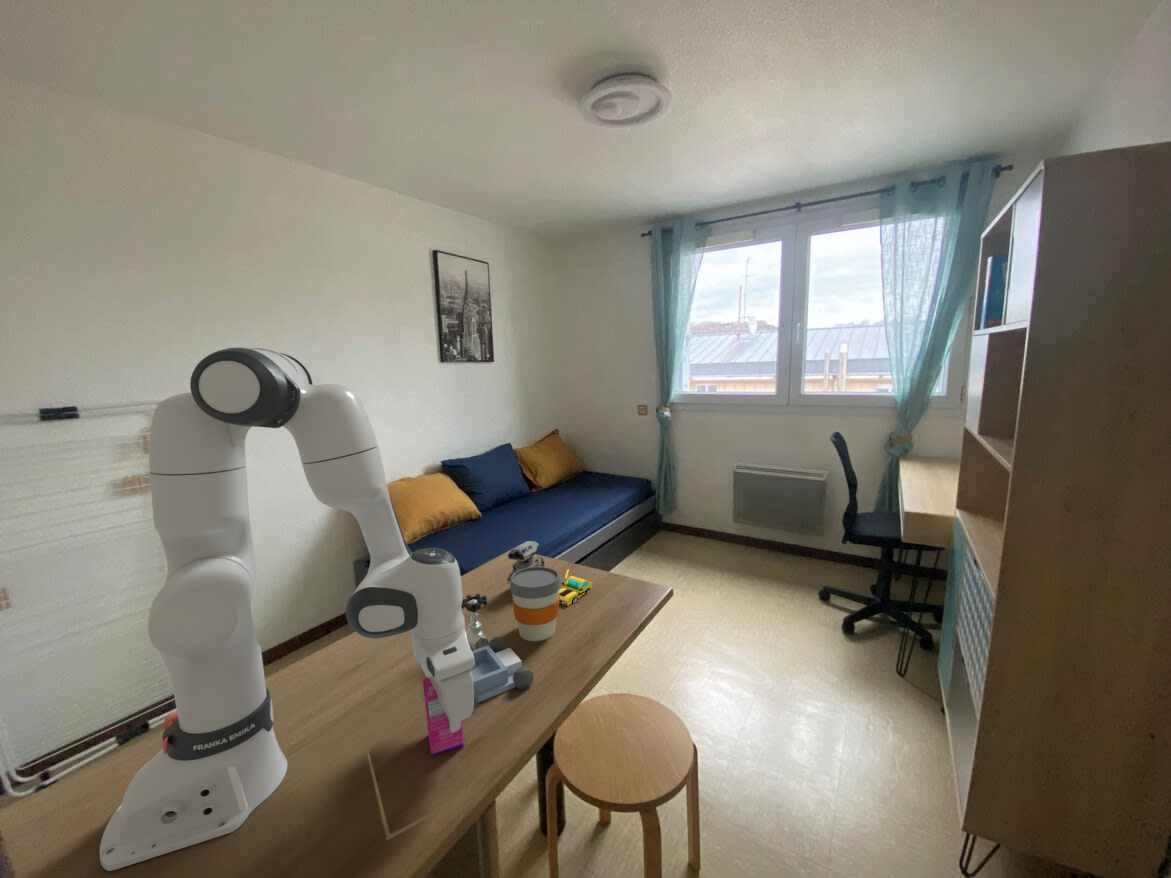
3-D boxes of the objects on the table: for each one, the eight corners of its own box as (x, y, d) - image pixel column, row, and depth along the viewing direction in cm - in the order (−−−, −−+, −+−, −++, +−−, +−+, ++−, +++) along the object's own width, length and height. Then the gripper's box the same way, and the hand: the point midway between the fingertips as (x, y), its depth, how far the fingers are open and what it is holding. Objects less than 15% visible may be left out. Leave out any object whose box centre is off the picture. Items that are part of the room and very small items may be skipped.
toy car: (574, 588, 143) (573, 562, 142) (595, 594, 138) (594, 567, 137) (549, 603, 133) (548, 576, 132) (570, 611, 129) (569, 582, 128)
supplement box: (426, 734, 85) (422, 677, 84) (460, 724, 88) (456, 668, 86) (429, 758, 80) (425, 697, 78) (464, 747, 82) (461, 687, 81)
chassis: (459, 716, 90) (458, 696, 89) (436, 675, 102) (435, 657, 102) (533, 685, 98) (533, 666, 98) (504, 650, 111) (503, 633, 110)
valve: (468, 658, 108) (465, 609, 106) (457, 645, 113) (454, 599, 112) (494, 648, 112) (492, 601, 110) (482, 636, 117) (480, 591, 115)
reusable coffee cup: (529, 615, 127) (527, 563, 124) (570, 625, 121) (569, 570, 119) (502, 639, 115) (499, 582, 113) (545, 651, 110) (543, 591, 108)
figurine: (500, 595, 139) (498, 546, 137) (528, 581, 148) (527, 535, 145) (521, 604, 133) (519, 553, 131) (549, 589, 142) (548, 542, 140)
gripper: (406, 620, 88) (413, 687, 90) (438, 678, 71) (445, 758, 73) (440, 610, 91) (445, 675, 93) (478, 662, 75) (484, 740, 77)
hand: (446, 712), depth 83 cm, fingers open, 8 cm apart
